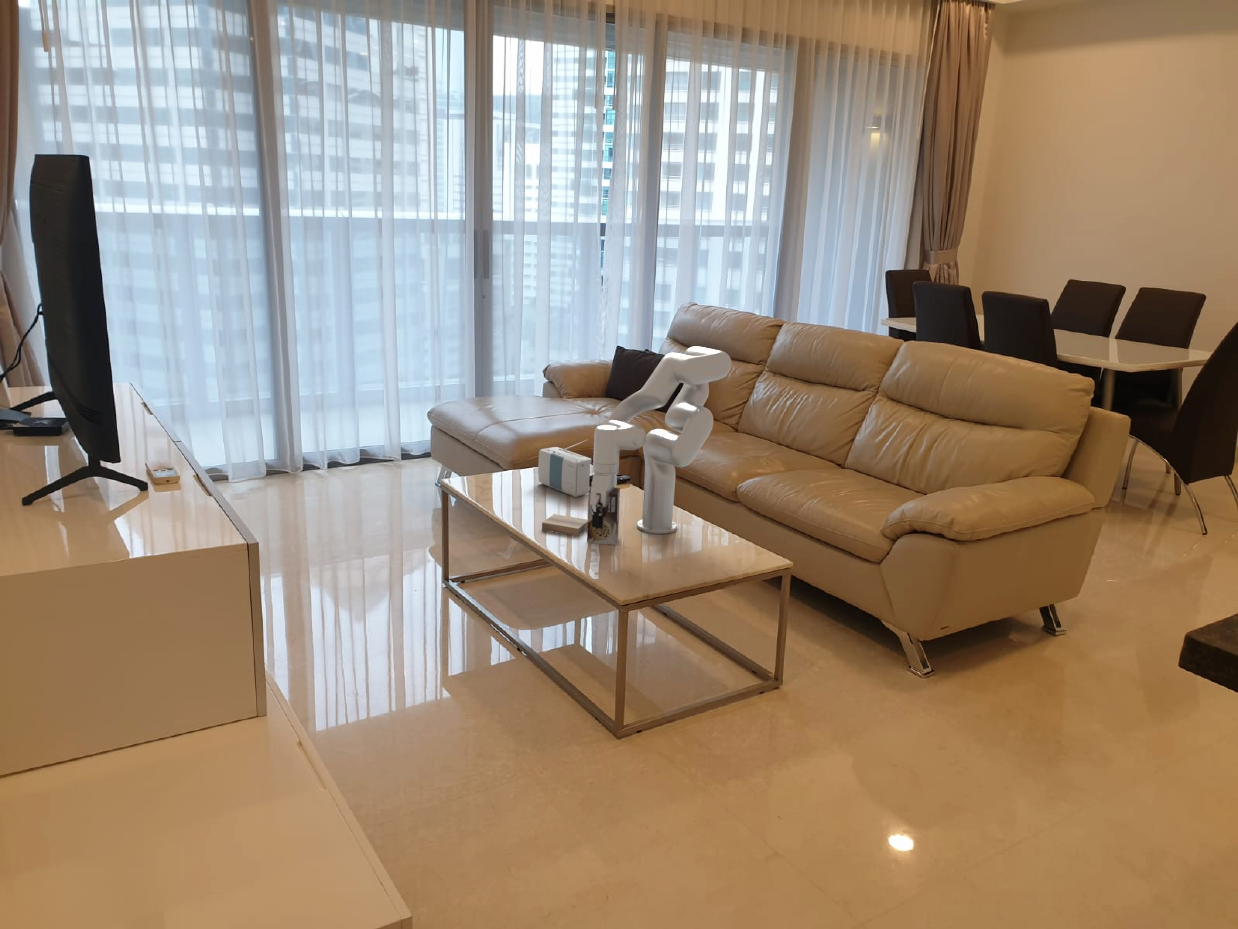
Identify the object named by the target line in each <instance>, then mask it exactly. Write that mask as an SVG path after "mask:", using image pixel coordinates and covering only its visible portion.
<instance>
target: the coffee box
mask: <svg viewBox="0 0 1238 929" xmlns="http://www.w3.org/2000/svg"><path fill="white" fill-rule="evenodd" d="M591 487H592V485H591V486H590V487H589V492H588V494H587V520H588V524H587V530H586V531H587V532H586V544H593V543H594V544H598V545H608V544H615V545H614V546H617V544H618V541H619V528H620V527H619V524H620V523H619V522H620V521H619V520H620V498H621V497H620V496H621V487H617V488H615V489H614V490H613V491H612V492H611V493H609V498H608V504H607V507H605V508H604V509H603V513H602V515H603V527H602V528H596V527H592V506H591V505H590V498H591ZM598 504H599V505H602V503H600V501H599V503H598ZM597 508H598V507H597ZM600 509H601V508H599V510H600Z"/></svg>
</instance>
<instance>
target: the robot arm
mask: <svg viewBox="0 0 1238 929" xmlns="http://www.w3.org/2000/svg"><path fill="white" fill-rule="evenodd" d="M731 369H732V359H731V357H730V355H729V354H728V353H727V352H725V351H723V350H718V349H714V348H708V347H703V346H697V345H695V346H690V347H688V348H687V349H685V352H684V353H680V352H669V353H667V354H666V355H664V356H663V357H662V358H661V361H660V362H659V363H658V364H657V366H656V367H655V368H654V370H653V372H652V373H651V375H650V376H649V378H648V379H647V380H646V382H645V384H644V385H643V386H642V387H641V389H640V390H638V391H635V392H634V393H632V394H631V395H629V396H627V397H626V398H625V399H623V400H622V401H621V402H620V403H619V404H617V405H616V407H615V408H613V411H612V412H611V413H610V415H609V416H608V417H607V419H606V420H605V421H606V422H605V423H604V424H602V425H601V424H600V425H598V426H596V427H595V428H594V433H593V434H594V436H593V438H594V439H593V456H592V457H593V460H592V473H593V475H592V480H591V486H592V487H591V486H590V488H591V498H590V505H591V506H592V527H596V528H602V527H603V515H602V513H603V509H604V508H605V507H607V504H608V498H609V493H611V492H612V491H613V490H614V489H615V488H618V487H617V486H618V485H617V484H618V481H617V477H618V476H617V475H618V474H619V468H620V467H619V466H620V465H619V464H620V463H619V462H620V451H623V450H625V451H636V450H638V449H640V448H642V449H643V450H642V451H643V455H644V456H643V458H644V485H643V500H642V502H643V503H642V514H641V515H642V518H641V519H639V520H638V521H637V522H636V527H637V529H638V530H640V531H642V532H644V533H648V534H656V535H664V534H671V533H674V532H675V531H676V530H677V529H678V525H677V523H676V522H675V521H673V515H674V503H675V502H674V501H675V489H676V488H675V486H676V485H675V484H676V470H675V469H676V467H678V468H685V467H687V466H689V465H690V464H691V463H692V462H693V461H694V459H695V458H696V456H697V455H698V454H699V452H700V450H701V448H702V447H703V445H704V444H705V443H706V440H707V439H708V438H709V436H710V434H711V432H712V430H713V427H714V416H713V413H712V411H711V410H710V409H708V408H707V407H705V406H704V405H705V403H706V402H707V399H708V398H709V396H710V395H709V393H710V387H709V386H710V385H709V383H710V382H714V381H718V380H722V379H723V378H725V377H727V375H728V374H729V372H730V371H731ZM681 383H682V384H683V385H682V388H681V389H680V392H679V393H678V394H677V396H676V397H675V399H674V400H673V402H672V403H671V405H670V406H669V408H668V410H667V412H666V413H665V416H664V423H665V425H666V426H667V427H668V429H670V430H673V431H674V432H673V431H670V430H667V429H663V428H656V429H655V428H654V429H652V430H650V431H648V433H646V431H645V429H644V428H642V427H641V426H640V425H638V424H634V423H631V421H632V420H633V419H634V418H635V417H636V416H638V415H640V414H641V413H644V412H647V411H653V410H656V409H659V408H662V407H664V406H665V405H666V404H667V403H668V401H669V400H670V398H671V396H672V395H673V394H674V392H675V391H676V389H677V388H678V386H679V385H680V384H681ZM675 431H676V432H678V433H676V432H675ZM599 501H600V503H602V505H599V504H598V503H599ZM597 507H598V508H597ZM599 508H601V509H600V510H599Z"/></svg>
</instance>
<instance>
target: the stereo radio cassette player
mask: <svg viewBox="0 0 1238 929" xmlns="http://www.w3.org/2000/svg"><path fill="white" fill-rule="evenodd" d="M586 441H589V439H588V438H587V439H586V440H583V441H581V442H577V443H575V444H573V445H571V446H568V447H566V448H561V447H558V446H552V447H547V448H541V449H539V451H538V462H537V463H538V465H537V466H538V468H537V469H538V470H537V473H538V474H537V475H538V482H540V483H541V484H542V485H543V484H544V485H545V486H546V487H549V488H552V489H555V490H556V491H560V492H562V493H565V494H567V495H570V496H571V497H574V498H577V497H580V496H581V497H582V496H584V495H585V494H586V495H588V492H589V490H590V478H591V477H590V475H591V474H590V473H591V465H592V463H593V460H592V458H591V457H588V456H585V455H581V454H578V453H576V452H574V451H573V452H572V451H569V450H568V449H571V448H573V447H575V446H578V445H580V444H582V443H584V442H586Z"/></svg>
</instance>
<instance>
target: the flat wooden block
mask: <svg viewBox="0 0 1238 929" xmlns="http://www.w3.org/2000/svg"><path fill="white" fill-rule="evenodd" d="M587 524H588V519H586V518H585V519H584V518H579V517H573V516H567V515H562V514H555V513H554V514H552V515H550V517H548V518H547V519H545V520H544V521H542V522H541V531H545V532H550V531H553V532H552V533H556V532H557V534H562V535H567V534H569V535H568V536H573V535H574V536H575V537H580V535H582V534H583V533H584V532H586V531H587V530H586V529H587ZM574 536H573V537H574Z"/></svg>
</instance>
